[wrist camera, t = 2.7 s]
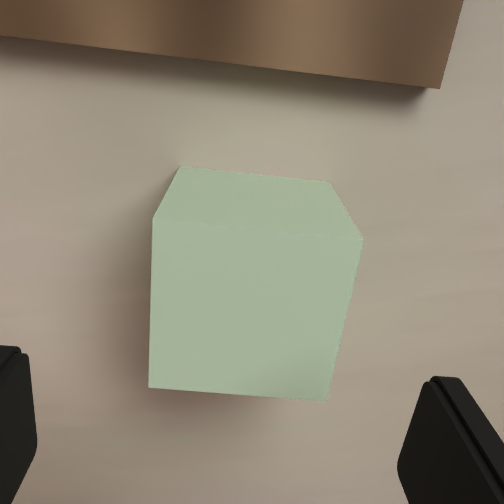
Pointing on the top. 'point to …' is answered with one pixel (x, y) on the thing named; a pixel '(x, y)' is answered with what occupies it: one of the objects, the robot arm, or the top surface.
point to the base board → (258, 32)
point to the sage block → (249, 284)
